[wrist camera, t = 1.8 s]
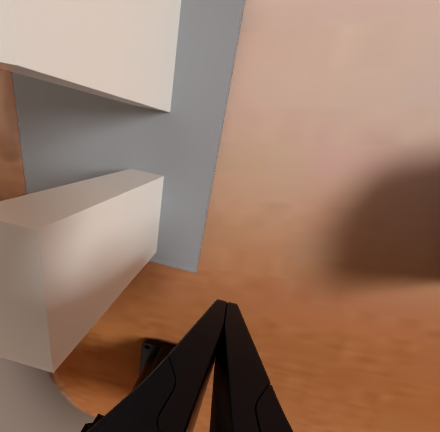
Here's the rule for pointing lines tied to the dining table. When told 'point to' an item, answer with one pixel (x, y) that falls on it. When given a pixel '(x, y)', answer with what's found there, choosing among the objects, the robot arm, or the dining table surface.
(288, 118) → the dining table surface
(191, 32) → the mat
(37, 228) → the tile
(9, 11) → the tile
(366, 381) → the dining table surface
